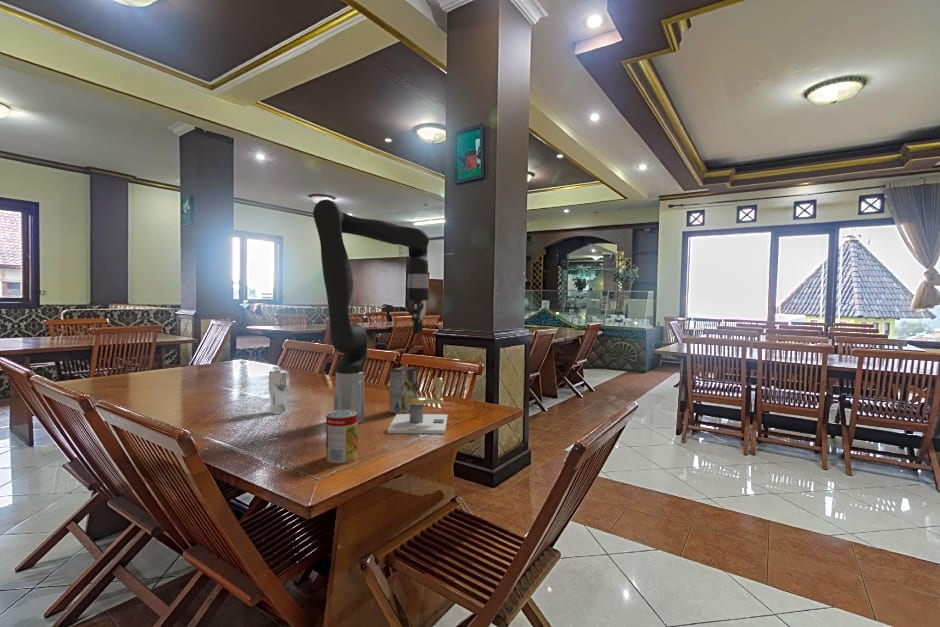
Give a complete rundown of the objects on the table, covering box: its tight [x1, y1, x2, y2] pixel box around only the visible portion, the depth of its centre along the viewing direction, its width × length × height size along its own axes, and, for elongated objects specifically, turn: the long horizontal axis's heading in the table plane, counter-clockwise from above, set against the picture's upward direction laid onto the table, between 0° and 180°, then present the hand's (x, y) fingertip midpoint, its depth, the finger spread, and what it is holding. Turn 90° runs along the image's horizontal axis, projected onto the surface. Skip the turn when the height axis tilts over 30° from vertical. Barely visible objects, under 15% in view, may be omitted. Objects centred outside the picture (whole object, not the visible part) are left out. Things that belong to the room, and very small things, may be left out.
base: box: [386, 404, 448, 435], centre depth 144 cm, size 18×18×7 cm
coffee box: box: [388, 366, 418, 414], centre depth 162 cm, size 9×6×16 cm
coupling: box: [406, 377, 444, 406], centre depth 144 cm, size 7×12×8 cm, turn 83°
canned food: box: [325, 409, 358, 465], centre depth 114 cm, size 8×8×12 cm
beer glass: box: [268, 369, 290, 415], centre depth 158 cm, size 7×7×15 cm
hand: (417, 332), depth 154 cm, fingers open, 8 cm apart
